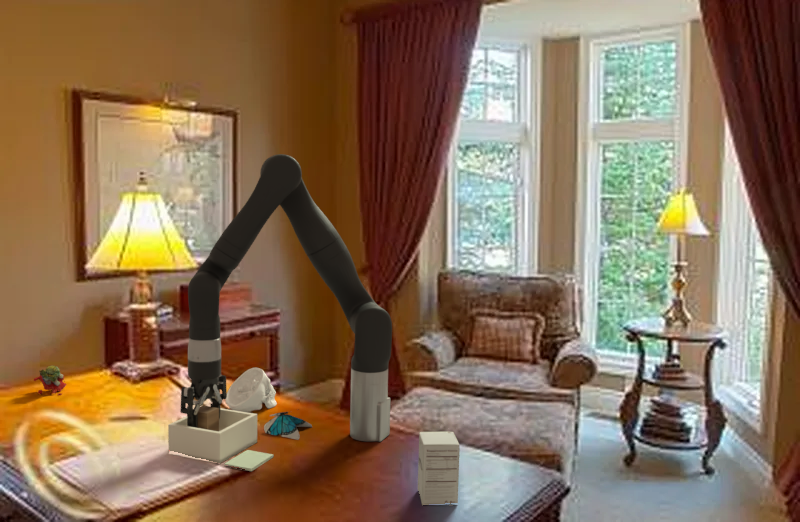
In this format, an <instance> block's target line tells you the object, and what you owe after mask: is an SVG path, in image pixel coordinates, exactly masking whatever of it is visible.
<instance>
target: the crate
mask: <svg viewBox="0 0 800 522" xmlns="http://www.w3.org/2000/svg"><path fill="white" fill-rule="evenodd" d="M209 407H211V405H210V406H209ZM187 424H188V423H187V415H186V416H185V417H182V418H180V419H178V420H175V421H173V422H170V423H168V429H167V431H168V432H167V433H168V435H167V436H168V437H167V439H168V451H169V450H170V451H174V452H178V453H182V454H185V455H188V456H192V457H195V458H201V459H206V460H209V461H213V462H217V463H221V462H223V461H225V460H226V461H229V460H230V459H232V458H234V457H236V456H237V455H239V454H241V453H243V452H244V451H246V449H247V450H248V448H250V447H252V446H254V445H255V444H256V443H258V413H253V412H241V411H235V410H232V409H230V408H229V409H227V408H221V407H220V419H219V431H213V430H207V429H201V428H195V427H190V426H187ZM229 458H230V459H229ZM226 461H225V462H226ZM223 463H224V462H223ZM221 464H222V463H221Z"/></svg>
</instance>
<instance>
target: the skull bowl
mask: <svg viewBox="0 0 800 522" xmlns="http://www.w3.org/2000/svg"><path fill="white" fill-rule="evenodd" d="M276 393H277V392H276V389H274V386H273V384H271V379H270V378H269V377H268V376H267V374H266V372H265V371H264V370H263V369H262V368H259V367H252V368H249V369H247V370H246V371H244V372H243V373H242V374H241V375H240V376H238V378H236V379H235V381H233V382H232V384H231V385H230V387H229V388H228V390H227V397H226V399H224V400H225V404H226V406H228V407H229V409H230V410H235V411H241V412H248V413H252V412H253V411H261V409H262V408H263V404H264V405H265V407H266V408H267V409H271V408H275V407H276V406H277V404H278V403H277V401H276V398H275V397H276Z"/></svg>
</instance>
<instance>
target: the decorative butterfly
mask: <svg viewBox="0 0 800 522" xmlns="http://www.w3.org/2000/svg"><path fill="white" fill-rule="evenodd" d="M298 410H300V409H297V411H298ZM289 413H291V411H282V412H277V413H274V414H273V413H272V414H269V417H273V418H272V419H270V420H268V421H267V422H266V423H265V424H264V425H263V430H264V432H265V434H267V435H272V436H276V437H278V436H281V437H283V438H288V439H292V440H297V441H299V440H300V436H301V435H300V432H299V430H298V428H313V426H312V424H311V423H309V422H308V421H306V420H304V419H302V418H299V417H296V416H293V415H291V414H289ZM297 427H298V428H297Z"/></svg>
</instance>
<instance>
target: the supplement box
mask: <svg viewBox="0 0 800 522" xmlns="http://www.w3.org/2000/svg"><path fill="white" fill-rule="evenodd" d="M418 434H419V435H418V461H417V462H418V466H417V492H418V491H419V492H418V494H420V495H419V498H420V502H421V506H423V505H429V504H445V503H450V504H451V503H458V504H459V478H460V475H459V474H460V451H461V449H460V443H459V441H458V439H457V437H456V436H457V435H455V432H454V431H420V432H419V433H418Z"/></svg>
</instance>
